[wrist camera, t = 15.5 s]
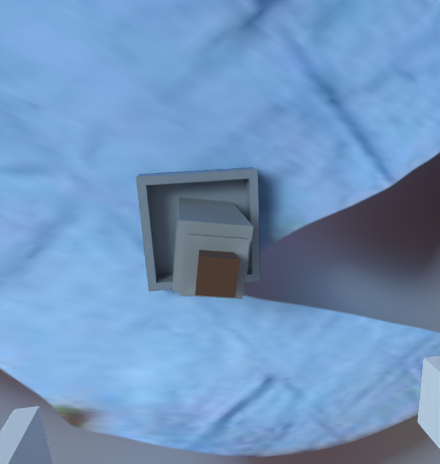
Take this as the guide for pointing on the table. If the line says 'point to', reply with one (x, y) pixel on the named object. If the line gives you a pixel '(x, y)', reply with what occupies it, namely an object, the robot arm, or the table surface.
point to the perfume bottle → (211, 249)
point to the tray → (166, 208)
